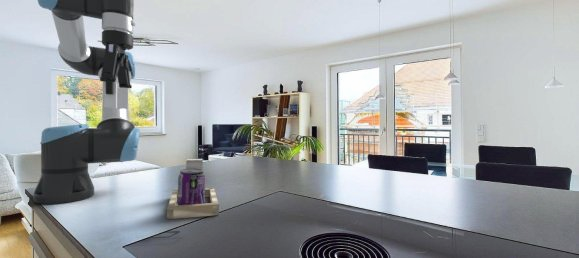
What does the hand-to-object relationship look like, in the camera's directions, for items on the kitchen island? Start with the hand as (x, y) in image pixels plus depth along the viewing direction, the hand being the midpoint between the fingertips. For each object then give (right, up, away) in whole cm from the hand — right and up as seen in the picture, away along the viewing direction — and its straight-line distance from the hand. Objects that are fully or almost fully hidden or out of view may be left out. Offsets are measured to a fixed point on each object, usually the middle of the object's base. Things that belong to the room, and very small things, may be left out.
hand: (117, 108), depth 78 cm
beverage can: (+21, -30, -1) cm, 36 cm away
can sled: (+20, -29, +5) cm, 35 cm away
